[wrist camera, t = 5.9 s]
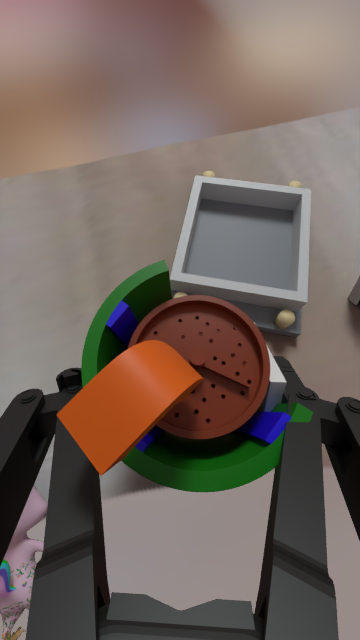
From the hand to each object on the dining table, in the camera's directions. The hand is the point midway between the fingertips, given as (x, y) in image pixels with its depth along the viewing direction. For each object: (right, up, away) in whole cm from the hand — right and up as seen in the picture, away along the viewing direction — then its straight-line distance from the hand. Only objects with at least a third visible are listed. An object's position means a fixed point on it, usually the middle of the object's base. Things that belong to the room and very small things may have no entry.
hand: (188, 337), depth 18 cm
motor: (0, -6, +7) cm, 10 cm away
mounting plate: (+7, +10, +12) cm, 17 cm away
